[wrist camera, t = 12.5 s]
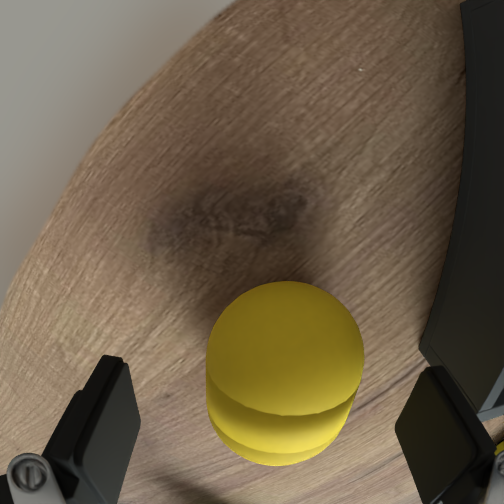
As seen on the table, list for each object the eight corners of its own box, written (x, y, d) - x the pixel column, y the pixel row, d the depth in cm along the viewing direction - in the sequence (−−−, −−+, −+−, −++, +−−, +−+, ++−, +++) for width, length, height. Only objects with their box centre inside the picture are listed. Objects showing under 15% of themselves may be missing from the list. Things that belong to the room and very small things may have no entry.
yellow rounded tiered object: (209, 255, 12) (200, 336, 7) (346, 260, 13) (414, 331, 8) (208, 398, 15) (207, 491, 9) (316, 396, 15) (346, 480, 10)
